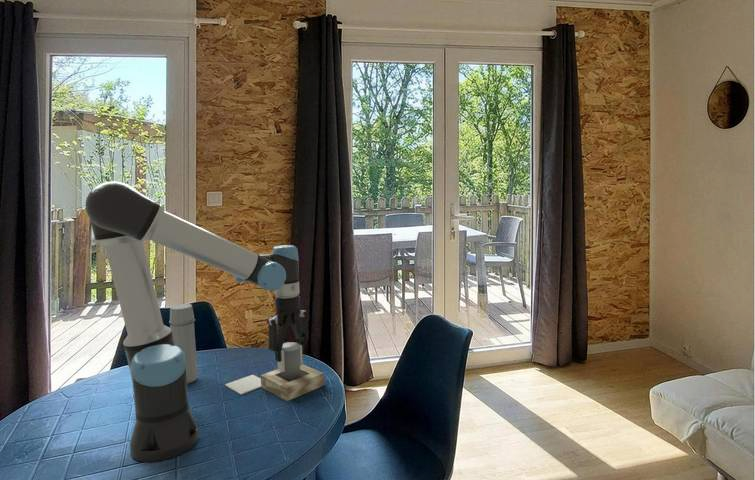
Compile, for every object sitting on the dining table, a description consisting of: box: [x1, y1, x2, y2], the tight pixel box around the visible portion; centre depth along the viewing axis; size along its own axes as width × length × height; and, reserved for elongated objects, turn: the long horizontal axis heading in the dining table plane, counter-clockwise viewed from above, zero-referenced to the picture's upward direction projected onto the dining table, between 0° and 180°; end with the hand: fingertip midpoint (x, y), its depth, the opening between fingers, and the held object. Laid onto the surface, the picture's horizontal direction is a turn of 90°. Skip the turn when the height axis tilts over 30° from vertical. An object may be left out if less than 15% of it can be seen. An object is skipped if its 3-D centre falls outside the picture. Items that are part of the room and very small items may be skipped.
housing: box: [260, 364, 325, 402], centre depth 140 cm, size 14×14×4 cm
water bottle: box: [168, 303, 199, 385], centre depth 145 cm, size 9×8×25 cm
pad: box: [224, 374, 262, 396], centre depth 142 cm, size 10×10×1 cm
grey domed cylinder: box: [281, 341, 300, 382], centre depth 139 cm, size 6×6×12 cm
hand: (290, 367), depth 139 cm, fingers closed on grey domed cylinder, 6 cm apart
